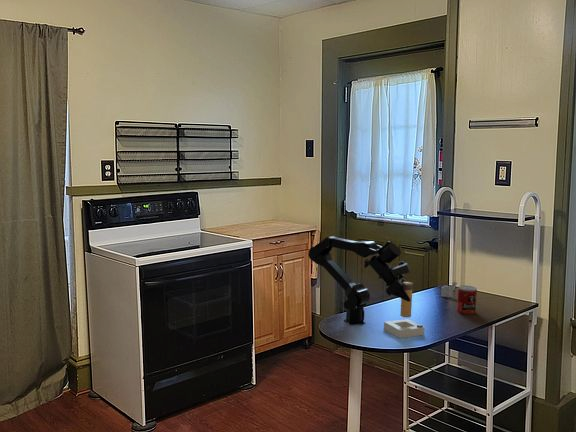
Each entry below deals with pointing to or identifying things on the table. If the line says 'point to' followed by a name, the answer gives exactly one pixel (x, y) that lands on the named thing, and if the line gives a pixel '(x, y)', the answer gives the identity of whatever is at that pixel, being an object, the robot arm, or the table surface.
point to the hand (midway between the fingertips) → (410, 299)
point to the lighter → (447, 290)
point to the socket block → (404, 328)
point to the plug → (405, 304)
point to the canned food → (466, 299)
